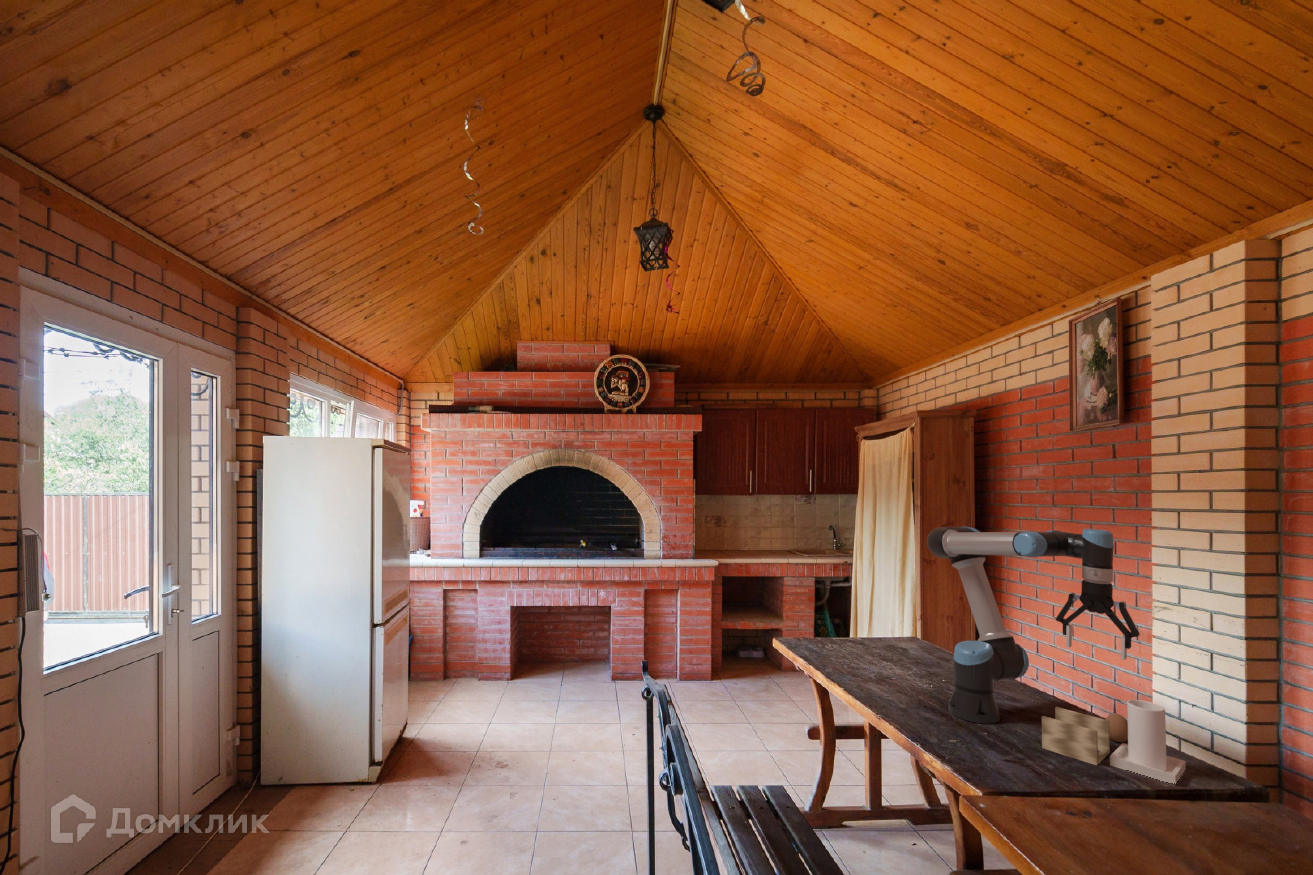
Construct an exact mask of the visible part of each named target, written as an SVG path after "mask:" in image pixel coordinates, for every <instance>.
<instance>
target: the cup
mask: <svg viewBox="0 0 1313 875" xmlns="http://www.w3.org/2000/svg"><path fill="white" fill-rule="evenodd" d="M1126 704H1127V706H1126V707H1127V708H1126V709H1127V722H1128V739H1127V744H1128V759H1129V761H1132V762H1135V763H1138V764H1142V765H1145V766H1148V767H1152V768H1155V769H1158V770H1162V771H1165V770H1166V769H1167V762H1166V756H1167V732H1166V731H1167V729H1166V728H1167V727H1166V724H1167V723H1166V708H1165V707H1164V706H1162V705H1160V704H1158V703H1154V702H1152V701H1147V700H1141V699H1128V700H1127V701H1126Z"/></svg>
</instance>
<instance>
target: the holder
mask: <svg viewBox="0 0 1313 875" xmlns="http://www.w3.org/2000/svg"><path fill="white" fill-rule="evenodd" d="M1054 710H1055V711H1054V713H1055V715H1054V717H1055V718H1053V717H1048V716H1045V715H1042V716H1041V748H1042V749H1043V750H1047V751H1050V752H1053V753H1056V754H1059V755H1063V756H1066V757H1069V758H1072V759H1076V760H1077V761H1081V762H1085V763H1088V764H1092V765H1095V766H1098V765H1099V764H1100V763H1101V762H1102V761H1103V760H1104V759H1105V758H1106V757H1107V756H1108V755H1109V754H1110V753H1111V748H1110V747H1111V746H1110V744H1111V742H1110V740H1111V738H1110V736H1109V721H1108V720H1106V719H1103V718H1100V717H1095V716H1092V715H1090V714H1086V713H1085V714H1084V713H1081V712H1078V711H1074V710H1069V709H1066V708H1062V707H1059V706H1055V708H1054Z"/></svg>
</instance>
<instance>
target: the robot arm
mask: <svg viewBox="0 0 1313 875" xmlns="http://www.w3.org/2000/svg"><path fill="white" fill-rule="evenodd" d="M926 546H927V548H928V550H929V552H930V553H931V554H932V555H934V556H935V557H937V558H940V559H945V560H946V559H949V561H950V564H951V567H953V568H955V569H957V572H958V574H959V575H958V576H959V577H960V579H961V583H962V586H963V590H964V592H965V594H966V598H967V601H968V605H969V607H970V611H971V614H972V616H973V619H974V622H975V625H976V629H977V631H978V634H979V637H978V639H977V640H964V641H960V642H958V643H957V644H955V646H954V653H953V677H954V678H953V682H954V684H953V686H954V687H953V690H952V693H951V696H950V699H949V702H948V712H949V714H951V715H952V716H954V717H956V718H959V719H961V720H963V721H967V722H971V723H976V724H977V723H978V724H996V723H998V722H1000V711H999V707H998V704H997V701H996V699H995V696H994V682H1001V681H1012V680H1016V679H1019V678H1022V677H1024V675H1025V674H1026V673H1027V671H1028V669H1029V665H1030V660H1029V655H1028V654H1027V651H1026V649H1024V647H1022V646H1021V645H1020V644H1019V643H1016V641H1015V639H1014V635H1012V634H1011V633H1009V632H1007V630H1006V626H1005V624H1004V622H1003V619H1002V614H1001V613H1000V610H999V607H998V604H997V601H996V598H995V595H994V592H993V590H992V588H991V585H990V581H989V579H988V576H987V573H986V570H985V568H984V563H985V561H986V556H1008V557H1009V556H1012V557H1013V556H1014V557H1027V558H1038V557H1067V558H1075V559H1079V560H1080V559H1081V578H1082V581H1081V593H1080V594H1076V593H1075V592H1071V593H1069V594H1068V598H1067V601H1066V603H1065V604H1064V605H1063V607H1062V609H1061V610H1060V611H1059V613H1058V614H1057V616H1056V617H1055V621H1056V622H1058V623H1060V624H1062V635H1063V636H1065V639H1066V641H1065V644H1066V645H1065V647H1066V648H1071V647H1072V646H1073V645H1072V644H1073V643H1072V642H1073V641H1072V640H1073V625H1072V624H1070V623H1071V622H1072V621H1074V620H1075V619H1076V618H1078V617H1079V616H1080V615H1081V614H1083V613H1084V612H1085V611H1088V612H1089V613H1097V614H1099V615H1102V614H1105V615H1106V616H1107V617H1108V618H1109V620H1110V621H1111V622H1112V623H1113V624H1114V625H1115V626H1116V627H1117V629H1118V630H1119V631H1120V632H1121V633H1122V634H1123V636H1121V637H1120V638H1121V643H1120V645H1121V647H1120V649H1121V651H1120V659H1121V661H1125V660H1127V658H1128V657H1127V654H1128V652H1127V650H1131V648H1132V639H1133V638H1138V637H1139V636H1140V634H1141V633H1140V631H1139V630H1138V628H1137V626H1136V624H1135V622H1134V621H1133V618H1132V616H1131V615H1130V613H1129V611H1128V609H1127V603H1126V601H1123V600H1122V601H1115V600H1114V599H1113V591H1114V590H1113V584H1112V582H1114V579H1113V578H1114V568H1113V564H1114V548H1115V544H1114V534H1113V533H1112V532H1111V531H1109V530H1106V529H1097V528H1084V529H1083V530H1082V532H1081V533H1074V532H1073V533H1072V532H1066V531H1062V530H1045V531H1041V532H1040V531H1008V532H1007V531H991V532H989V531H988V532H987V531H985V532H984V531H983V532H982V531H980V530H978V529H977V528H974V527H969V526H939V527H936V528H933V529H932V530H931V531H930V532H929V534H928V535H927V538H926ZM1078 600H1079V601H1080V602H1081V604H1082V605H1081V606H1080V607H1078V609H1076V610H1075V611H1074V612H1073V613H1071V614H1070V615H1069V616H1068V617H1067V618H1065V617H1066V615H1067V614H1068V612H1069V610H1070V609H1071V608H1072V606H1073V604H1075V602H1077V601H1078ZM1114 606H1115V607H1116V609H1117V610H1119V612H1120V614H1121V616H1122V618H1123V620H1124V622H1125V623H1126V625H1125V624H1124V623H1123V622H1122V621H1121V620H1120V618H1119V617H1118V616H1117V614H1115V611H1113V609H1112V608H1113V607H1114ZM1126 626H1127V627H1128V628H1127V627H1126Z"/></svg>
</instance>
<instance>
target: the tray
mask: <svg viewBox="0 0 1313 875" xmlns="http://www.w3.org/2000/svg"><path fill="white" fill-rule="evenodd" d="M1166 762H1167V769H1166V770H1165V771H1162V770H1158V769H1155V768H1152V767H1148V766H1145V765H1142V764H1138V763H1135V762H1132V761H1129V759H1128V743H1124V742H1121V743H1120V745H1119V746H1118V747H1117V748H1116V749H1115V750H1114V752H1112V753H1111V754H1110V756H1109V765H1110V766H1111V767H1114V768H1117V769H1120V770H1124V771H1126V770H1129V771H1128V772H1130V771H1132V772H1131V773H1133V772H1135V773H1134V774H1136V773H1138V774H1137V775H1139V774H1141V775H1140V776H1142V775H1145V776H1144V777H1146V776H1148V777H1147V778H1149V777H1151V778H1150V779H1152V778H1154V779H1153V780H1155V779H1158V780H1160V781H1159V782H1162V781H1164V782H1163V783H1165V782H1168V783H1173V784H1174V783H1175V784H1176V783H1177V781H1178V780H1179V779H1180V780H1181V778H1182V777H1181V775H1182V776H1184V774H1185V772H1186V771H1185V770H1186V769H1187V767H1186V766H1187V765H1186V760H1183V759H1180V758H1176V757H1173V756H1169V755H1166ZM1184 771H1185V772H1184ZM1183 773H1184V774H1183ZM1180 777H1181V778H1180ZM1158 780H1157V781H1158ZM1180 780H1179V781H1180ZM1168 783H1167V784H1168ZM1177 784H1178V783H1177Z"/></svg>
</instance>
